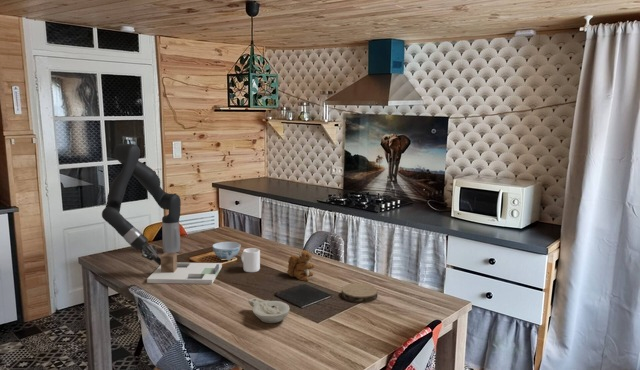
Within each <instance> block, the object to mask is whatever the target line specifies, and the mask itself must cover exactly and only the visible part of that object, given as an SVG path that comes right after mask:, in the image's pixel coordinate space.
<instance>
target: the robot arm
mask: <svg viewBox="0 0 640 370" xmlns="http://www.w3.org/2000/svg"><path fill="white" fill-rule="evenodd" d="M113 155H114V158H115V159H116V160H117V161H118V162H119V163H120V164H122V165H123V166H122V169H121V171H120V172H119V173H118V174H117V176H115V178H114V179H113V180H112V182H111V184H110V186H109V190H108V193H107V199H106V200H107V201H106V204H105V207H104V208H103V210H102V212H101V217H102V219H103V220H104V221H105V222H107V224H108V225H110V226H111V227H112V228H113V229H115V231H116V232H117V233H118V234H119V235H120V236H121V237H122V238H123V239H124V241H125V242H126V243H127V244H129V246H131V247H132V249H134V250H135V251H136V252H137V251H138V250H139V251H140V253H142V254H141V256H142V258H144V259H147V260H149V261H154V262H155V263H156V264H157V265H158V266H160V265H161V257H159V251H158V249H157V248H156V246H155V245H154V244H153V245H151V244H149V243H148V241H149V239H148V238H147V237H146V236H145V235H144V234H143V233H142V232H141V231H140V230H139V229H138V228H136V227H135V226H134V225H133V224H132V223H131V222H130V221H129V220H127V219H126V218H125V217H124V216H123V215H122V214H121V211H120V210H121V208H122V203H123V200H124V196H125V194H126V190H127V186H128V184H129V181H130V180H131V177H132V176H134V178H136V180H138V182H139V183H140V184H141V186H143V187H144V189H145V190H146V191H147V193H149V194H150V196H151V197H152V198H153V199H154V201H155V202H156V204H157V205H158V206H159V208H161V209H162V210H166V211H167V210H168V214H166V215H163V216H162V218H161V227H162V229H161V230H162V252H163V254H164V253H179V252H180V251H181V233H180V217H181V208H182V207H181V204H182V203H181V202H182V201H181V198H180V196H179V194H177V193H170V192H169V193H168V192H165V191H164V190H163V188H162V187H161V178H160V177H159V175H158V174H157V173H156V172H155V170H154V169H153V168H151V167H150V166H148V165H146V164H145V163H143V162H141V161H140V160H139V159H140V157H141V149H140V147H139V146H138V145H137V144H135V143H118V144H116V145H115V146H114V148H113Z"/></svg>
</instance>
